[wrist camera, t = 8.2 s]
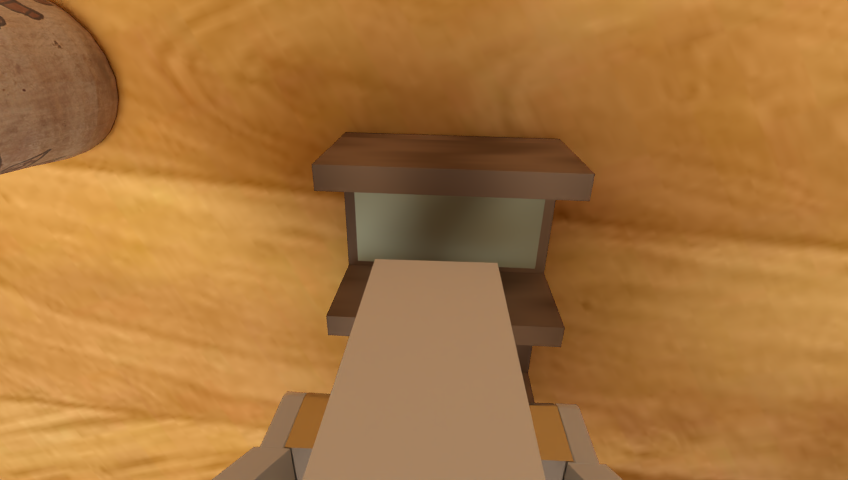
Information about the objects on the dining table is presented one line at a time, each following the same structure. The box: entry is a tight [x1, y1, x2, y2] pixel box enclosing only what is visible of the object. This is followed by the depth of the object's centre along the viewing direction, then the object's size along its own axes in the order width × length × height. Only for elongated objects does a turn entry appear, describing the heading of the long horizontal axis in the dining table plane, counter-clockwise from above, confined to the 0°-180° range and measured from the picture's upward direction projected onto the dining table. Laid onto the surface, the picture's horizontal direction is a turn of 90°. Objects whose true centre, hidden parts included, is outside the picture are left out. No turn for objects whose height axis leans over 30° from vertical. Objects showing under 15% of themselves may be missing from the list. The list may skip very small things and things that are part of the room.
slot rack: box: [312, 132, 595, 403], centre depth 22 cm, size 10×21×6 cm, turn 179°
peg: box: [302, 259, 545, 480], centre depth 11 cm, size 4×4×9 cm
